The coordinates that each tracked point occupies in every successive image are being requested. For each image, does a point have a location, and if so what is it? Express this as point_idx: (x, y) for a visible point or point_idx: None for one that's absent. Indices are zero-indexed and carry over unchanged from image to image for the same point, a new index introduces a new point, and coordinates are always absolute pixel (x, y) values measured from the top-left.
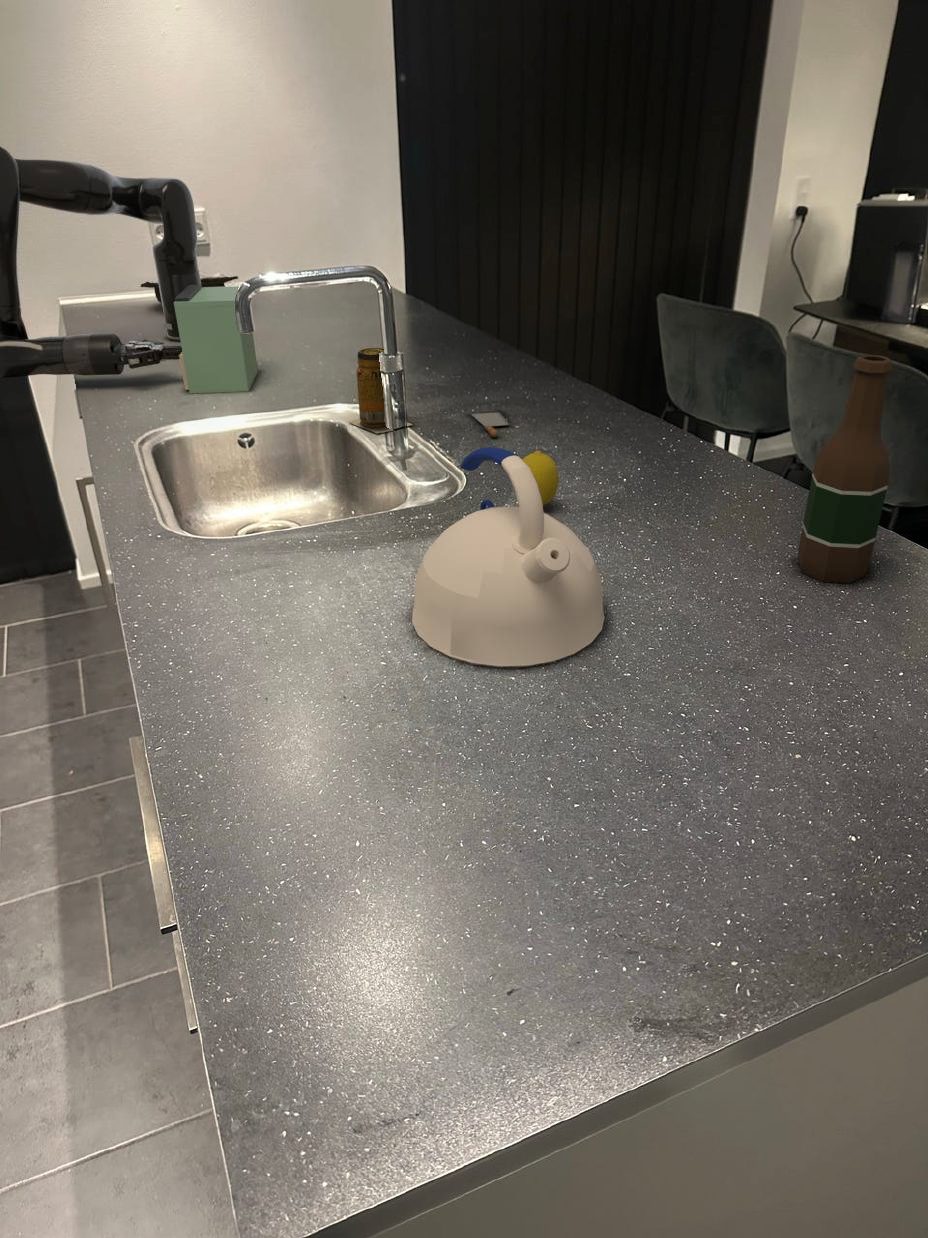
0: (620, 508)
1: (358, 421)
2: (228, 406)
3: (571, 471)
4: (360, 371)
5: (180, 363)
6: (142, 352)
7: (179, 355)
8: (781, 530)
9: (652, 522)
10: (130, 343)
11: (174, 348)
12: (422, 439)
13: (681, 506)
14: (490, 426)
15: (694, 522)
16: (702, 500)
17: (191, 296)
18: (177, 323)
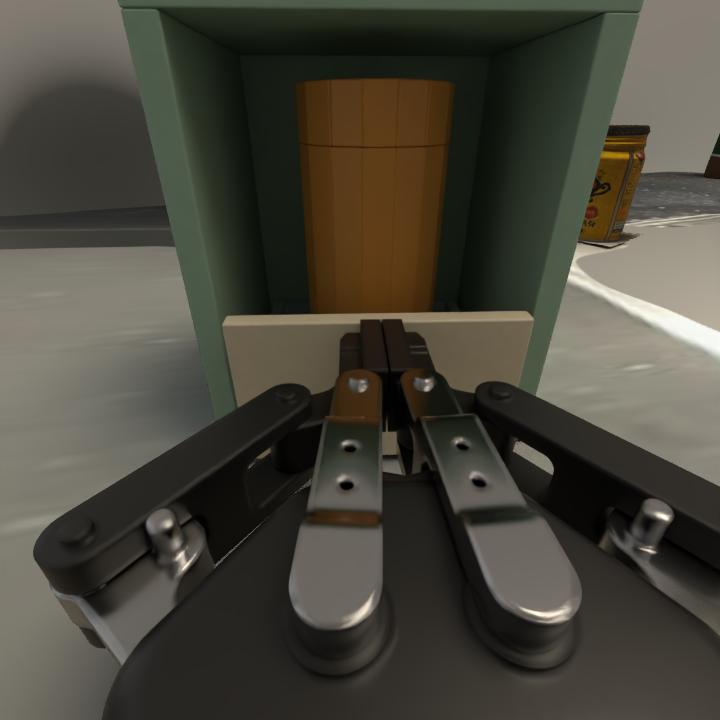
0: (705, 192)
1: (600, 243)
2: (610, 347)
3: (648, 196)
4: (642, 155)
5: (524, 355)
6: (603, 445)
7: (533, 318)
8: (683, 178)
9: (717, 189)
10: (379, 598)
11: (407, 341)
12: (628, 223)
13: (677, 185)
14: None
15: (700, 185)
16: (659, 183)
17: None
18: (608, 126)
